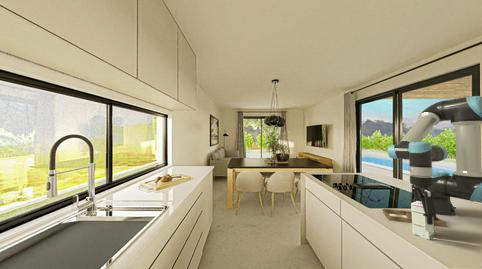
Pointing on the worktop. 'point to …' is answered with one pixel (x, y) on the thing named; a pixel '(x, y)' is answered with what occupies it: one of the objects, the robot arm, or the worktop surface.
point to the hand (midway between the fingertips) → (423, 226)
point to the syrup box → (420, 221)
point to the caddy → (406, 217)
